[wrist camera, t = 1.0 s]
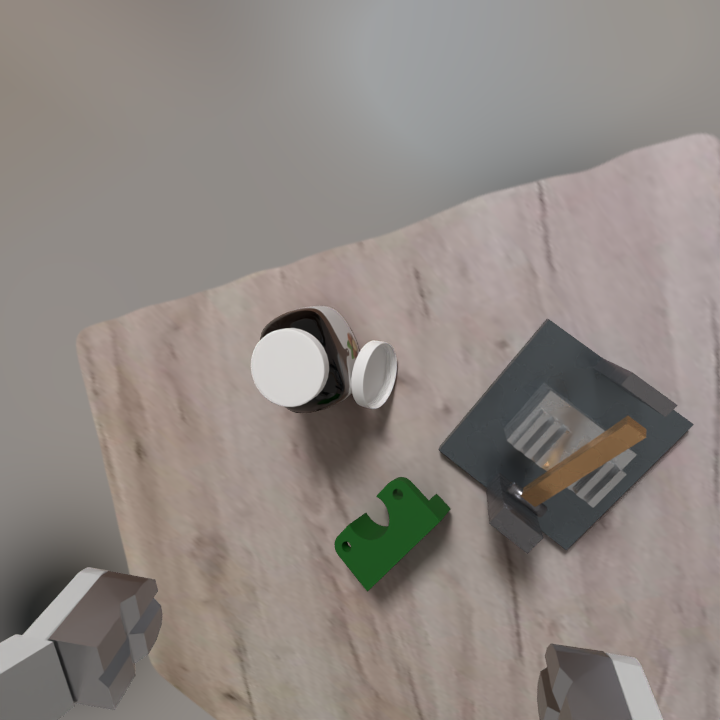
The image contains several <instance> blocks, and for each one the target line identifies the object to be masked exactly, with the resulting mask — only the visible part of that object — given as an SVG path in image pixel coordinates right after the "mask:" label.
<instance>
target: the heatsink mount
mask: <svg viewBox="0 0 720 720" xmlns="http://www.w3.org/2000/svg"><path fill="white" fill-rule="evenodd" d="M676 406H677V405H676V404H675V403H674V402H672V401H671V400H670V399H668V398H667V397H665V396H664V395H663V394H661V393H660V392H659V391H657V390H656V389H654V388H653V387H652V386H650V385H649V384H647V383H646V382H645V381H643V380H642V379H641V378H639V377H638V376H636V375H635V374H634V373H632V372H630V371H628V370H626V369H624V368H622V367H620V366H618V365H616V364H614V363H611V362H609V361H607V360H605V359H603V358H601V357H600V356H599V355H597V354H596V353H594V352H593V351H592V350H590V349H589V348H588V347H586V346H585V345H583V344H582V343H581V342H579V341H578V340H577V339H575V338H574V337H572V336H571V335H570V334H568V333H567V332H566V331H564V330H563V329H561V328H560V327H559V326H557V325H556V324H555V323H553V322H552V321H550V320H549V319H546V321H545V322H544V323H543V324H542V325H541V326H540V328H539V329H538V330H537V331H536V332H535V334H534V335H533V336H532V337H531V338H530V340H529V341H528V342H527V343H526V344H525V346H524V347H523V348H522V349H521V350H520V351H519V353H518V354H517V355H516V356H515V357H514V359H513V360H512V361H511V362H510V363H509V365H508V366H507V367H506V368H505V369H504V371H503V372H502V373H501V374H500V375H499V376H498V378H497V379H496V380H495V381H494V382H493V384H492V385H491V386H490V387H489V388H488V390H487V391H486V392H485V393H484V394H483V395H482V397H481V398H480V399H479V400H478V401H477V403H476V404H475V405H474V406H473V407H472V409H471V410H470V411H469V412H468V413H467V415H466V416H465V417H464V418H463V419H462V420H461V422H460V423H459V424H458V425H457V426H456V428H455V429H454V430H453V431H452V432H451V434H450V435H449V436H448V437H447V438H446V440H445V441H444V442H443V443H442V444H441V445H440V447H439V451H441V452H442V453H443V454H444V455H446V456H447V457H448V458H450V459H451V460H452V461H453V462H455V463H456V464H457V465H458V466H460V467H461V468H462V469H464V470H465V471H466V472H467V473H469V474H470V475H471V476H472V477H474V478H475V479H476V480H478V481H479V482H480V483H481V484H483V485H484V486H485V487H486V489H487V502H488V515H489V524H491V525H492V526H493V527H494V528H496V529H497V530H498V531H499V532H501V533H502V534H503V535H504V536H506V537H507V538H508V539H510V540H511V541H512V542H513V543H515V544H516V545H517V546H518V547H520V548H521V549H522V550H523V551H525V552H526V553H527V554H528V553H529V551H530V550H531V549H532V548H533V547H534V546H535V545H536V544H537V543H538V542H539V541H540V540H541V539H542V538H543V536H542V532H541V531H543V532H544V533H545V534H546V535H548V536H549V537H550V538H551V539H553V540H554V541H555V542H557V543H558V544H559V545H560V546H562V547H563V548H564V549H565V550H567V549H568V548H569V547H570V546H571V545H572V544H573V543H574V542H575V541H576V540H577V539H578V538H579V537H580V536H581V535H582V534H583V533H584V532H585V531H586V530H587V529H588V528H589V527H590V526H591V525H592V524H594V523H595V522H596V521H597V520H598V519H599V518H600V517H601V516H602V515H603V514H604V513H605V512H606V511H607V510H608V509H609V508H610V507H611V506H612V505H613V504H614V503H615V502H616V501H617V500H618V499H619V498H620V497H621V496H622V495H623V494H624V493H625V492H626V491H627V490H628V489H629V488H630V487H631V486H632V485H633V484H634V483H635V482H636V481H637V480H638V479H639V478H640V477H641V476H642V475H643V474H644V473H645V472H646V471H647V470H648V469H649V468H650V467H651V466H652V465H653V464H654V463H655V462H656V461H657V460H658V459H659V458H660V457H661V456H662V455H663V454H664V453H665V452H666V451H667V450H668V449H669V448H670V447H671V446H672V445H673V444H674V443H675V442H676V441H678V440H679V439H680V438H681V437H682V436H683V435H684V434H685V433H686V432H687V431H688V430H689V429H690V428H691V427H692V426H693V425H694V424H692V423H691V422H690V421H688V420H687V419H685V418H684V417H683V416H681V415H680V414H679V413H677V412H676V411H674V410H673V409H674V408H675V407H676ZM626 416H629V417H631V418H632V419H633V420H635V421H636V422H637V423H639V424H640V425H641V426H643V427H644V428H646V438H645V439H643V440H641V441H640V442H638V443H637V444H635V445H633V446H632V447H630V448H629V449H627V450H625V451H624V452H622V453H621V454H619V455H617V456H616V457H614V458H613V459H611V460H610V461H608V462H606V463H605V464H603V465H602V466H600V467H598V468H597V469H595V470H594V471H592V472H590V473H589V474H587V475H586V476H584V477H582V478H581V479H579V480H578V481H576V482H574V483H573V484H571V485H570V486H568V487H567V488H565V489H563V490H562V491H560V492H559V493H557V494H555V495H554V496H552V497H551V498H549V499H547V500H546V501H544V502H543V504H544V505H545V506H547V511H546V513H545V514H544V515H543V516H542V517H538V516H537V515H535V514H534V513H533V512H532V511H530V510H529V509H528V508H526V507H525V506H524V505H523V504H521V503H520V502H519V501H517V500H516V499H515V498H514V497H512V496H511V495H510V494H508V493H507V492H506V488H507V487H508V485H509V484H510V483H511V482H512V481H515V482H516V483H517V484H518V485H520V486H521V487H522V488H524V487H525V486H526V485H528V484H529V483H531V482H532V481H534V480H535V479H537V478H538V477H539V476H541V475H542V474H544V473H545V472H547V471H548V470H550V469H551V468H553V467H554V466H555V465H557V464H558V463H560V462H561V461H563V460H564V459H566V458H567V457H568V456H570V455H571V454H573V453H574V452H576V451H577V450H579V449H580V448H581V447H583V446H584V445H586V444H587V443H589V442H590V441H592V440H593V439H595V438H596V437H597V436H599V435H600V434H602V433H603V432H605V431H606V430H608V429H609V428H610V427H612V426H613V425H615V424H616V423H618V422H619V421H621V420H622V419H624V418H625V417H626Z"/></svg>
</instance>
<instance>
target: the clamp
mask: <svg viewBox="0 0 720 720" xmlns="http://www.w3.org/2000/svg"><path fill="white" fill-rule="evenodd" d="M377 497H378V498H380V499H381V500H382V501H383V503H384V504H385V506H386V507H387V510H388V513H389V526H380V525H378V524H376V523H375V522H373V521H372V520H371V519H370V517H369V516H368V515H367V513H365V514H363V515H362V516H361V517H359V518H358V519H356V520H355V521H353V522H352V523H350V524H349V525H348V526H347V527H346V528H345V529H344V530H343V531H342V532H341V533H340V535H339V536H338V537H337V538H336V540H335V550H336V552H337V554H338V555H339V557H340V558H341V559H342V560H343V562H344V563H345V564H346V565H347V567H348V568H349V569H350V570H351V572H352V573H353V574H354V575H355V577H356V578H357V579H358V580H359V582H360V583H361V584H362V585H363V587H364V588H365V589H366V590H367V592H368V591H369V590H370V589H371V588H372V587H373V586H374V585H375V584H376V583H377V582H378V581H379V580H380V579H381V578H382V577H383V576H384V575H385V574H386V573H387V572H388V571H389V570H390V569H391V568H392V567H393V566H394V565H395V564H397V563H398V562H399V561H400V560H401V559H402V558H403V557H404V556H405V555H406V554H407V553H408V552H409V551H410V550H411V549H412V548H413V547H414V546H415V545H416V544H417V543H418V542H419V541H420V540H421V539H422V538H423V537H424V536H425V535H427V534H428V533H429V532H430V531H431V530H432V529H433V528H434V527H435V526H436V525H437V524H438V523H439V522H440V521H441V520H442V519H443V517H444V516H445V515H446V514H447V513H448V512H449V510H450V507H449V506H448V505H447V504H446V503H445V502H444V501H443V500H442V499H441V498H440V497H439V496H438V495H437V494H436V495H434V496H433V497H432V498H431V499H430V500H428V499H427V498H426V497H425V496H424V495H423V494H422V493H421V492H420V491H419V489H418V488H417V487H416V486H415V485H414V484H413V483H412V482H411V481H410V480H409V479H407V478H404V477H398V478H396V479H394V480H393V481H391V482H390V483H388V484H387V486H386V487H385V488H384V489H383V490H382V491H381V492H380V493H379V494H378V495H377ZM347 542H349V543H350V545H351V547H350V546H349V545H348V543H347Z"/></svg>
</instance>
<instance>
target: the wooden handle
mask: <svg viewBox="0 0 720 720" xmlns="http://www.w3.org/2000/svg"><path fill="white" fill-rule="evenodd" d="M645 438H646V428H644V427H643V426H641V425H640V424H639V423H637V422H636V421H635V420H633V419H632V418H631V417H629V416H626V417H625V418H624V419H622V420H621V421H619V422H618V423H616V424H615V425H613V426H612V427H610V428H609V429H608V430H606V431H605V432H603V433H602V434H600V435H599V436H597V437H596V438H595V439H593V440H592V441H590V442H589V443H587V444H586V445H584V446H583V447H581V448H580V449H579V450H577V451H576V452H574V453H573V454H571V455H570V456H568V457H567V458H566V459H564V460H563V461H561V462H560V463H558V464H557V465H555V466H554V467H553V468H551V469H550V470H548V471H547V472H545V473H544V474H542V475H541V476H539V477H538V478H537V479H535V480H534V481H532V482H531V483H529V484H528V485H526V486H525V487H524V488H522V487H521V486H520V485H518V484H517V483H516V482H515V481H512V482H511V483H510V484H509V485H508V487H507V488H506V492H507V493H508V494H510V495H511V496H512V497H514V498H515V499H516V500H517V501H519V502H520V503H521V504H523V505H524V506H525V507H526V508H528V509H529V510H530V511H532V512H533V513H534V514H535V515H537V516H538V517H542V516H543V515H544V514H545V513H546V511H547V506H545V505H544V504H543V502H544V501H546V500H547V499H549V498H551V497H552V496H554V495H555V494H557V493H559V492H560V491H562V490H563V489H565V488H567V487H568V486H570V485H571V484H573V483H574V482H576V481H578V480H579V479H581V478H582V477H584V476H586V475H587V474H589V473H590V472H592V471H594V470H595V469H597V468H598V467H600V466H602V465H603V464H605V463H606V462H608V461H610V460H611V459H613V458H614V457H616V456H617V455H619V454H621V453H622V452H624V451H625V450H627V449H629V448H630V447H632V446H633V445H635V444H637V443H638V442H640V441H641V440H643V439H645Z"/></svg>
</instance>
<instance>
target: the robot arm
mask: <svg viewBox="0 0 720 720" xmlns="http://www.w3.org/2000/svg"><path fill="white" fill-rule="evenodd" d="M157 592H158V588H157V585H156V581H155V579H149V578H144V577H139V576H134V575H128V574H123V573H118V572H113V571H107V570H102V569H96V568H90V567H87V568H86V569H84V570H82V571H80V572H79V573H78V574H77V575H76V576H75V577H74V579H73V580H72V581H71V582H70V583H69V584H68V585H67V586H66V587H65V589H64V590H63V591H62V592H61V593H60V594H59V595H58V596H57V597H56V598H55V600H54V601H53V602H52V603H51V604H50V605H49V606H48V607H47V609H46V610H45V611H44V612H43V613H42V614H41V615H40V616H39V618H38V619H37V620H36V621H35V622H34V623H33V624H32V625H31V627H29V629H28V630H27V631H26V632H25V633H24V634H23V635H17V634H16V635H14V636H12V637H10V638H8V639H7V640H5V641H3V642H1V643H0V720H58V719H60V718H61V717H62V716H63V715H65V714H66V713H67V712H68V711H69V710H71V709H72V708H73V707H74V706H75V705H74V703H76V704H82V705H88V706H94V707H100V708H106V709H112V710H115V709H116V707H117V706H118V704H119V702H120V700H121V699H122V697H123V696H124V694H125V692H126V691H127V689H128V687H129V686H130V684H131V682H132V681H133V679H134V677H135V663H136V662H138V661H139V660H141V659H142V658H144V657H145V656H146V655H148V654H149V652H150V650H151V649H152V647H153V645H154V644H155V642H156V640H157V637H158V634H159V631H160V628H161V625H162V609H161V605H160V604H159V603H158V602H157V601H156V600H155V599H154V596H155V595H156V593H157ZM545 659H546V664H547V668H545V669H543V670H542V671H540V676H539V680H538V689H537V703H538V713H539V719H540V720H664V719H663V717H662V714H661V712H660V709H659V707H658V705H657V702H656V700H655V697H654V695H653V693H652V690H651V688H650V685H649V683H648V680H647V678H646V676H645V673H644V671H643V668H642V666H641V664H640V663H639V661H638V660H637V659H636V658H634V657H631V656H624V655H617V654H611V653H605V652H603V651H597V650H590V649H583V648H577V647H570V646H563V645H556V644H550V645H549V646H548V647H547V650H546V654H545Z"/></svg>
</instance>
